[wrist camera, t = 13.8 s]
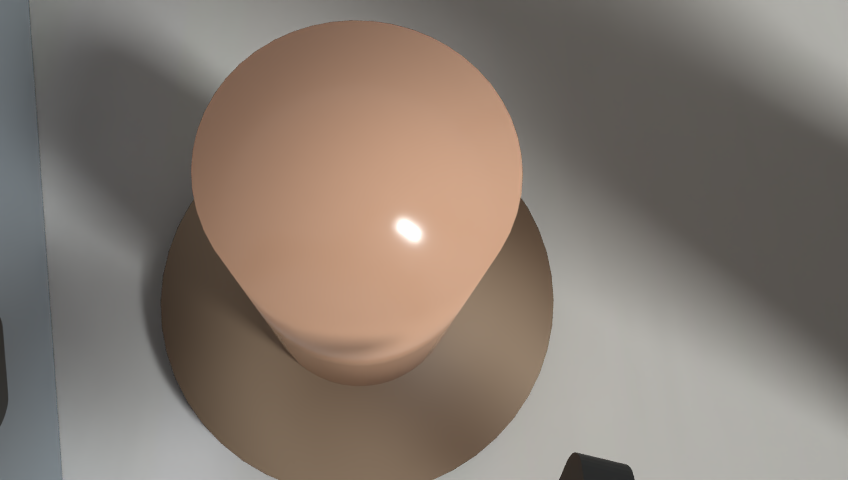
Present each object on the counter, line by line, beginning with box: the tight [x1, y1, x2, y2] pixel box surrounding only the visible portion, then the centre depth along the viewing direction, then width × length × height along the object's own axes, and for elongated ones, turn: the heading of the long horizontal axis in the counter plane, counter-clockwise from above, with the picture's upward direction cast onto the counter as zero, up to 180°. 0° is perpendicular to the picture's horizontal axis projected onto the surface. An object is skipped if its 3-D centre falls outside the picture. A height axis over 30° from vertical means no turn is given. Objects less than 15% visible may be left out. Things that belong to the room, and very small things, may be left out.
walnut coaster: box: [161, 198, 553, 480], centre depth 22 cm, size 12×12×1 cm
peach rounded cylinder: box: [191, 20, 523, 386], centre depth 17 cm, size 6×6×10 cm
